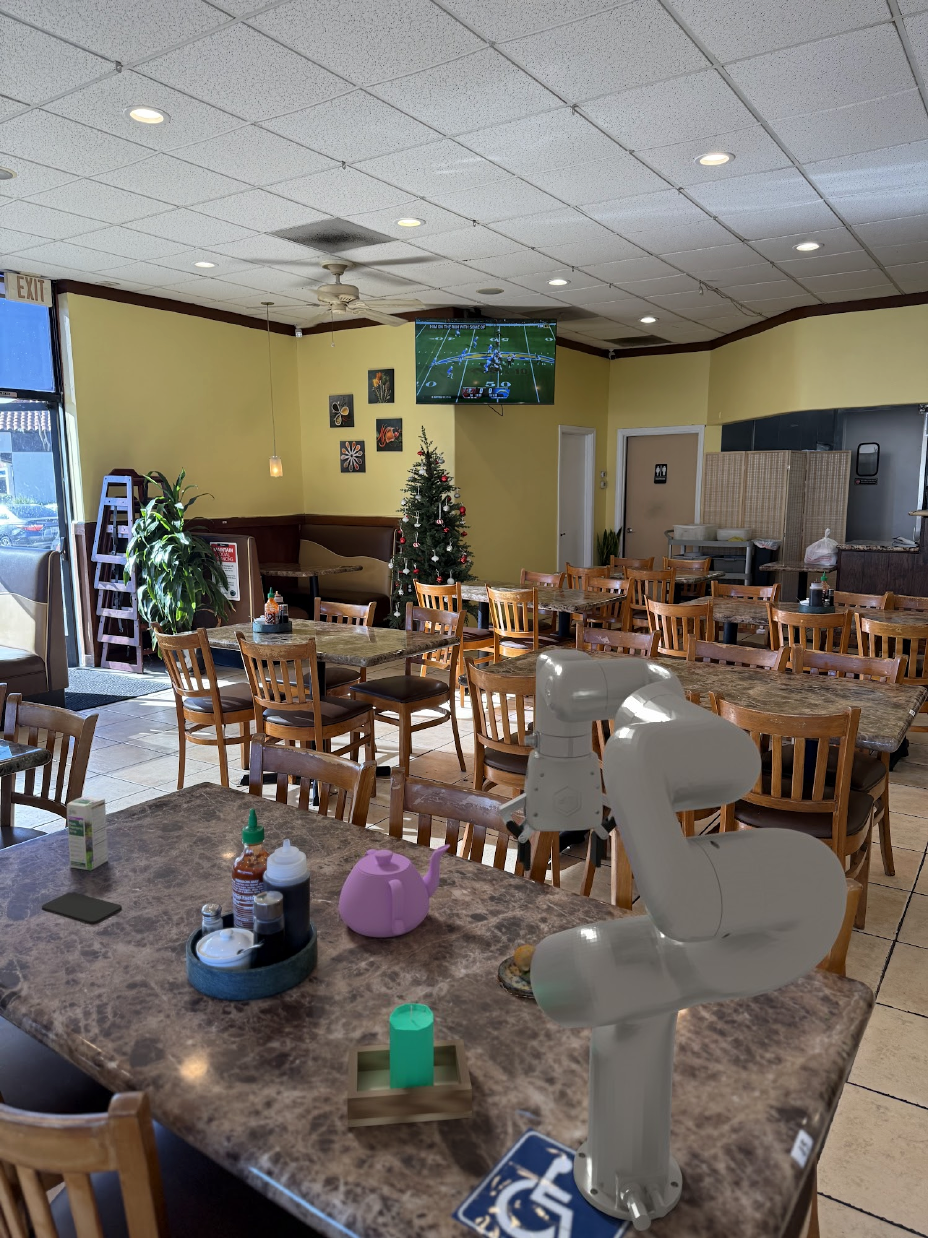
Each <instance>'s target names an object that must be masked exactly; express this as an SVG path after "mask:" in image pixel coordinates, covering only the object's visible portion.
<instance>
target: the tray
mask: <svg viewBox="0 0 928 1238" xmlns="http://www.w3.org/2000/svg"><path fill="white" fill-rule="evenodd" d="M467 1059H468V1058H467V1055H466V1048H465V1043H464V1039H463V1038H461V1039H448V1040H447V1039H446V1040H433V1061H434V1086H423V1087H409V1088H396V1089H390V1043H388V1044H373V1045H371V1044H370V1045H358V1046H348V1065H347V1066H348V1067H347V1094H346V1095H347V1097H346V1099H347V1100H346V1102H347V1103H346V1104H347V1109H346V1110H347V1128H357V1127H367V1126H379V1125H380V1126H381V1125H395V1124H404V1123H405V1124H407V1123H419V1122H432V1121H444V1120H447V1121H448V1120H457V1119H458V1120H459V1119H470V1118H473V1110H472V1109H473V1108H472V1107H473V1106H472V1105H473V1102H472V1101H473V1088H472V1083H471V1077H470V1071H469V1066H468V1061H467Z"/></svg>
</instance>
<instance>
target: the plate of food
mask: <svg viewBox="0 0 928 1238" xmlns="http://www.w3.org/2000/svg"><path fill="white" fill-rule="evenodd" d="M516 942H517V944H518V948H516V950H515V952H514V953H513V955H512V956H509V957H508V958H506V959H504V960H502V961H501V963H500V964H499V966H498V967H497V976H496V977H497V979H498V980H499V981H498V980H497V979H496V980H497V981H498V982H499V983H500V982H502V983H503V986H504V988H506V989H507V991H508V992H509V993H512V994H510V995H511V996H513V995H518V996H520V997H521V996H527V997H534V994H533V991H532V987H531V979H530V968H531V962H532V958H533V954H534V952H535V950H536V948H535V947H534V946H533V945H530V944H525V945H521V946H520V944H519V941H518V940H516ZM508 992H507V993H508ZM509 993H508V994H509ZM527 997H526V998H527ZM533 999H535V997H534V998H533Z"/></svg>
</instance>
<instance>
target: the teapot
mask: <svg viewBox="0 0 928 1238" xmlns="http://www.w3.org/2000/svg"><path fill="white" fill-rule="evenodd" d="M450 846H451V844H445V845H441V846H439V847H438V848H436V849H435V850H434V851H433V852H432V854H431V856H430V859H429V868H428V870H427V873H426V874H425V875H424V876H423V877H422V876H421V874H420V873H419V871H418V869H417V868H416V866H415V865H414V863H412V861H411V860H410V859H409V858H408V857H406V856H404V855H402V854H399V853H394V852H393V851H391V850H389V849H381V850H380V849H379V850H377V849H374V848H371V849H368V850H366V852H365V856H363V857H362V858H360V859H359V860H358V861H357V863H356V864H355V865H354V867H352V870H351V871H350V873H349V875H348V876H347V878H346V880H345V882H344V883H343V885H342V889H341V891H340V894H339V899H338V900H339V901H338V913H339V916H340V918H341V919H342V921H343V922H344V923H345V925H347V926H348V927H349V928H350V929H351V930H352V931H353V932H355V933H357V934H359V935H363V936H366V937H370V938H391V937H392V938H393V937H396V936H397V937H398V936H401V935H404V934H406V933H409V932H411V931H413V930H415V929H416V928H417V927H418V926H419V925H420V924H421V923H422V922H423V921H424V919H425V918H426V917H427V915H428V913H429V911H430V899H431V898H432V896H434V894H435V893H436V891H437V890H438V887H439V884H440V866H441V864H440V863H441V859H442V857H443V855H444V853H445V852H446V851H447V850H448V849H449V848H450Z"/></svg>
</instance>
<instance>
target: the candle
mask: <svg viewBox="0 0 928 1238" xmlns="http://www.w3.org/2000/svg"><path fill="white" fill-rule="evenodd" d="M433 1041H434V1012H433V1011H432V1010H431V1008H430V1007H429V1006H428V1005H426V1004H421V1003H404V1004H401V1005H399V1006H396V1007H395V1008H394V1010H393V1011H392V1012H391V1014H390V1015H389V1044H390V1089H396V1088H409V1087H423V1086H434V1061H433Z"/></svg>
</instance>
